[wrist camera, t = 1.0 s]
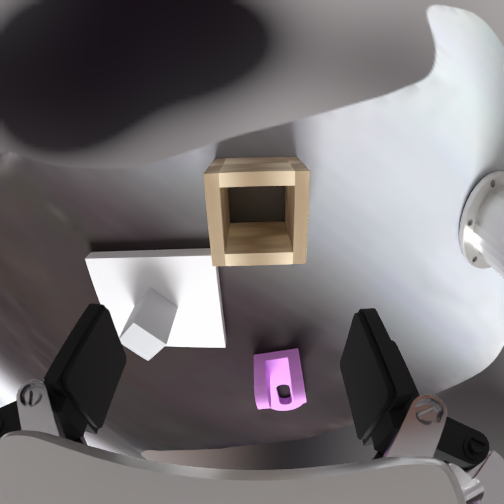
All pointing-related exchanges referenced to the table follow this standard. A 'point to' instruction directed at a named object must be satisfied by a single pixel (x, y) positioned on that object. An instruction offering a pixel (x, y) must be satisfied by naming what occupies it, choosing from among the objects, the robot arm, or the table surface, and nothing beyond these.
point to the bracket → (278, 379)
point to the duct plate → (169, 282)
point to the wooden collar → (257, 233)
